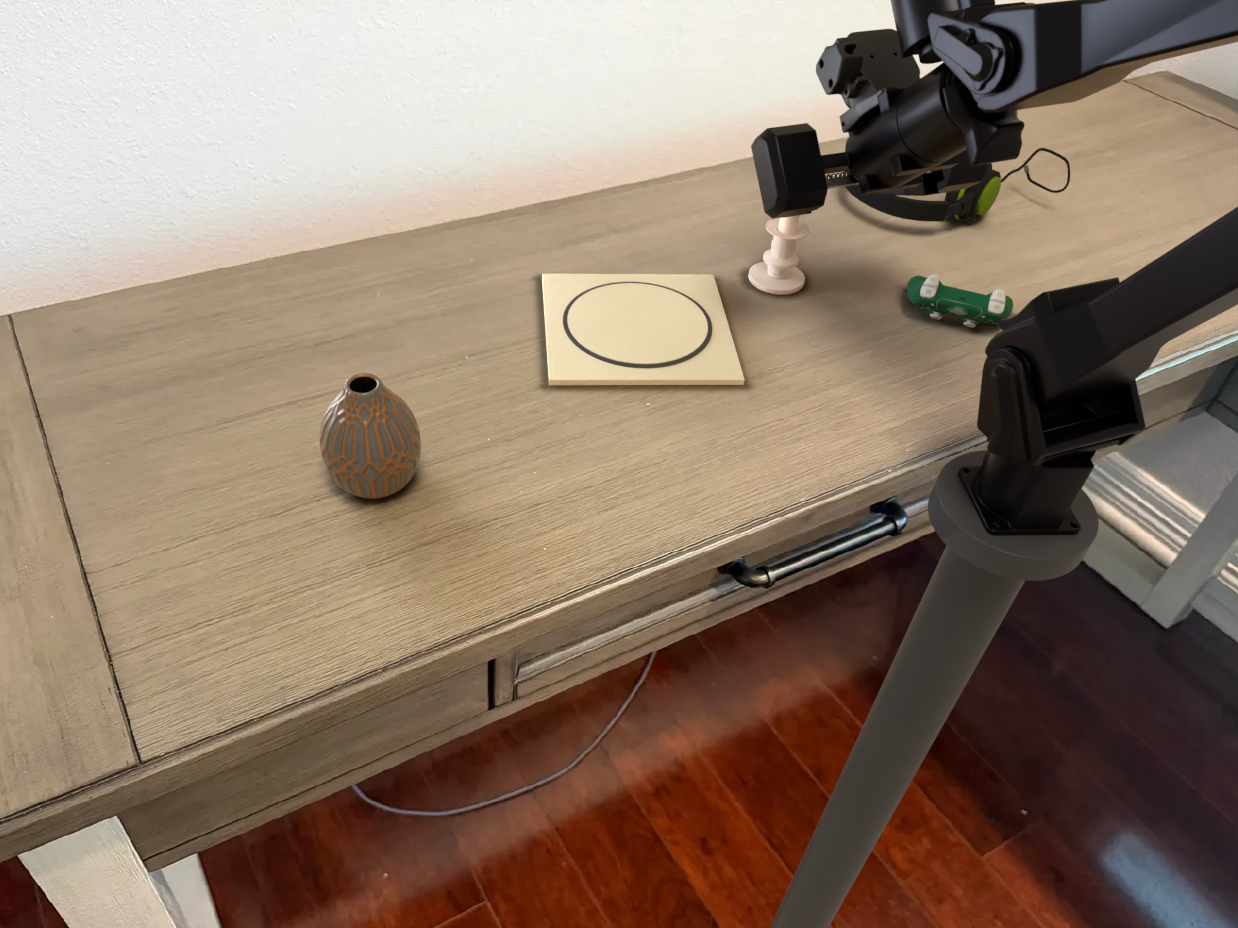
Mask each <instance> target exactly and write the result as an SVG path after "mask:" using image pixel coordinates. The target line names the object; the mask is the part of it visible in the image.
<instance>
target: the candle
mask: <svg viewBox="0 0 1238 928" xmlns="http://www.w3.org/2000/svg"><path fill="white" fill-rule="evenodd" d="M800 218H801V215H798V216H791V217H784V218H775V219H772V218H771V219H769V220H767V222H766V223H765V229H766V231H767V233H769V234H771V235H772V236H773V238H772V240H771V242H770V243H771V245H770V248H768V249H766V251H764V253H763V256H762V260H763V261H759V262H757V263H755V264H753V265H752V266H751V267H750V268H749V271H748V280H749V282H750V283H751V285H752V286H753V287H755V288H756V289H758V290H759V291H762V292H763V293H767V294H772V295H778V296H779V295H780V296H783V295H784V296H785V295H786V296H787V295H793V294H795V293H797V292H799V291H801V289H803V287H804V285H805V282H806V277H805V274H804V272H803V271H802V270H801V269H800V268H798V267H797V265H798V263H799V257H798V255H797V254H796V253H795V251H796V248H797V241H798V240H801V239H803V238H806V237H808V235H809V233H810V228H809V226H808V225H807V224H806V223H805V222H804V221H801V220H800Z"/></svg>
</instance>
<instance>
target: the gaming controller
mask: <svg viewBox="0 0 1238 928" xmlns="http://www.w3.org/2000/svg"><path fill="white" fill-rule="evenodd" d="M906 294H907V298H908V299H909V301H910V302H911V303H912V304H913V305H914V306H917V307H918V309H923V310H924V309H927V311H928V313H929V317H930V318H931V319H933V320H938V321H939V320H941V319H943V317H944V316H946V315H947V314H951V315H954V316H960V317H961V319H962V321H963V325H964V326H965V327H967V328H975V327H976V326H977V325H978V324H980V323H981V322H984V323H985V324H989V325H991V324H993V325H997V321H998V320H1003V319H1008V318H1010V316H1011V314H1012V313H1013V312H1012V311H1013V308H1014V301H1013V299H1012V298H1011V297H1010V296H1009V295H1006V293H1005V291H1004V289H1002V288H996V289H994V290H993V291H992V292H989V293H988V294H983V293H979V292H975V291H971V290H966V289H962V288H958V287H954V286H949V285H944V284H943V283H942V282H941V280H940V276H939V275H938V274H936V273H932V274H930V275H928V276H927V277H926V276H922V275H914V276H912V277H911V278H910V279H909V280H908V281H907V286H906Z"/></svg>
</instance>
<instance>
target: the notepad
mask: <svg viewBox="0 0 1238 928" xmlns="http://www.w3.org/2000/svg"><path fill="white" fill-rule="evenodd" d="M541 284H542V299H543V301H542V302H543V313H544V315H543V316H544V330H545V332H544V333H545V343H546V344H545V345H546V360H547V374H548V386H744V385H745V382H746V381H745V380H746V379H745V375H744V372H743V369H742V365H741V362H740V359H739V355H738V352H737V349H736V345H735V341H734V339H733V335H732V332H731V329H730V325H729V321H728V318H727V315H726V311H725V308H724V305H723V301H722V298H721V295H720V291H719V289H718V285H717V281H716V278H715V274H713V273H712V274H711V273H709V274H707V273H704V274H703V273H701V274H699V273H696V274H695V273H669V274H668V273H542V274H541Z"/></svg>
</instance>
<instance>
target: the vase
mask: <svg viewBox="0 0 1238 928" xmlns="http://www.w3.org/2000/svg"><path fill="white" fill-rule="evenodd" d="M319 448H320V453H321V457H322V461H323V464H324V467H325V469H326V471H327V472H328V474H329V476H330V477H331V478H332V480H333V481H334V482H335V483H336V485H337V486H339V487H340V489H342V490H344V491H345V492H347V493H348V494H350V495H353V496H355V497H359V498H362V499H369V500H374V499H375V500H377V499H383V498H387V497H389V496H392V495H394V494H395V493H397V492H399V491H400V490H402V489H403V488H405V486H406V485H408V483H409V482H410V481H411V480H412V478H413V477H414V475H415V473H416V471H417V469H418V466H419V463H420V459H421V453H422V439H421V432H420V427H419V424H418V421H417V418H416V417H415V415H414V412H413V411H412V409H411V408H410V406H409V405H408V404H407V402H406V401H405V400H404V399H403V398H402V397H401V396H399V395H398V394H397V393H396V392H395V391H393V390H391V389H390V388H388V387H387V386H386V385H385V384H384V382H383V381H382V380H381V378H379V377H378V376H377V375H375V374H373V373H369V372H361V373H356V374H353V375H351V376H350V377H348V378H347V379H346V380H345V383H344V385H343V387H342V389H341V390H340V392H339V393H338V395H336V396H335V398H333V400H332V401H331V402H330V404H329V405H328V407H327V409H326V410H325V412H324V415H323V417H322V420H321V425H320V430H319Z"/></svg>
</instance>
